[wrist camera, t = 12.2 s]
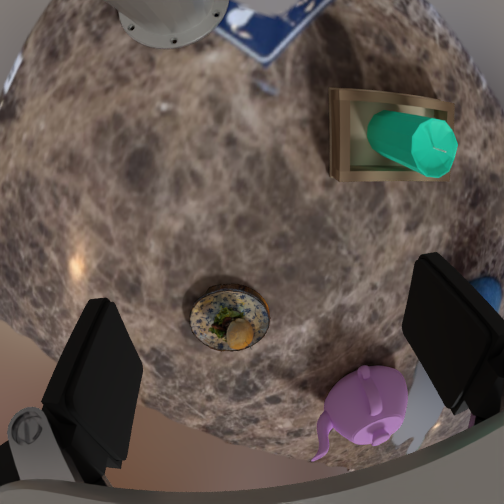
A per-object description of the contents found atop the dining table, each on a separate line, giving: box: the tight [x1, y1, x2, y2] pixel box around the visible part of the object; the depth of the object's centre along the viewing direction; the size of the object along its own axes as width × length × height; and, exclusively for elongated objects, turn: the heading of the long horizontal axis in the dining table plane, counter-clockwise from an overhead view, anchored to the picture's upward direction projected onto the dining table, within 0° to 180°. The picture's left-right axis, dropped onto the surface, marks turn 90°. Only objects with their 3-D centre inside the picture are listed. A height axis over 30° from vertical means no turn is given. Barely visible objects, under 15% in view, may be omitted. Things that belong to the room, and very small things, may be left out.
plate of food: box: [189, 283, 270, 352], centre depth 43 cm, size 12×12×8 cm
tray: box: [328, 87, 454, 182], centre depth 33 cm, size 16×11×4 cm
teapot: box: [311, 365, 408, 461], centre depth 51 cm, size 22×22×14 cm
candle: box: [367, 110, 458, 178], centre depth 29 cm, size 6×6×12 cm
